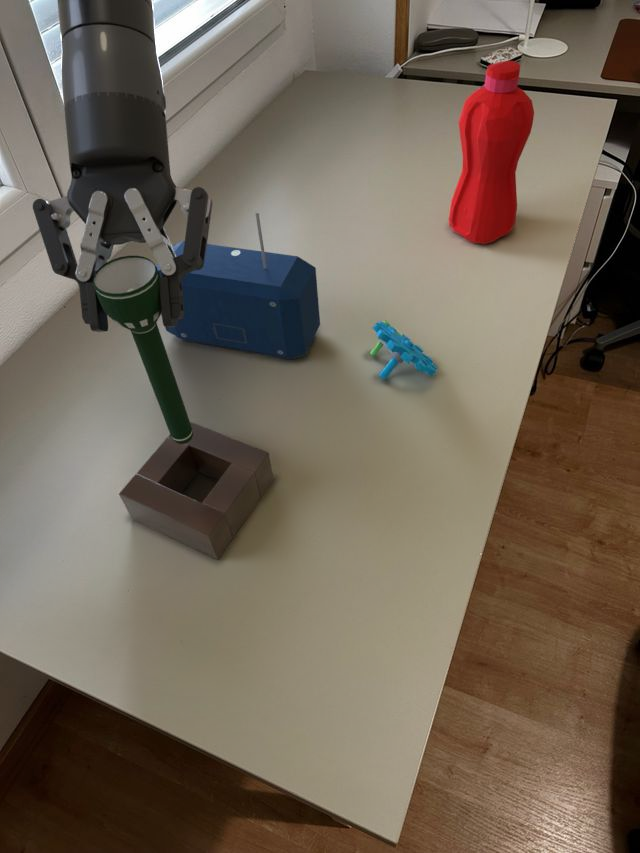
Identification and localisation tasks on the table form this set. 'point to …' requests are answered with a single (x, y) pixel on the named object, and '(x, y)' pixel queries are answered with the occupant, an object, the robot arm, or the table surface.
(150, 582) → the table surface
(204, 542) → the holder
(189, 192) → the robot arm
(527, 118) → the water bottle
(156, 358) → the flashlight
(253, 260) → the radio
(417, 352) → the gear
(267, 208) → the table surface
